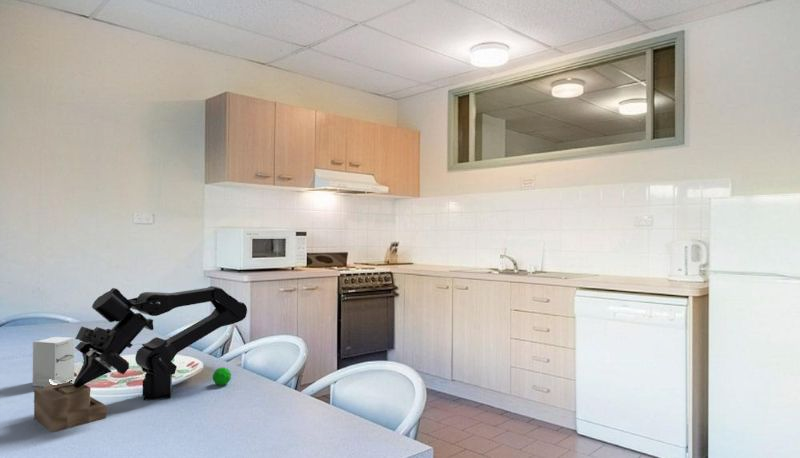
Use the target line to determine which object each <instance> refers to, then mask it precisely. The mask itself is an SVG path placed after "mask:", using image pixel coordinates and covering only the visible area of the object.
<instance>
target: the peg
mask: <svg viewBox="0 0 800 458" xmlns="http://www.w3.org/2000/svg"><path fill="white" fill-rule="evenodd" d="M83 390H86V391H88V392H89V406H90V397H91V387H90V386H88V385H86V384H84V385H82V386H80V387H78V388H76V387H74V386H73V385H72V386H68V387H63V388H59V393H61V394H63V395H65V394H69V393H74V392H78V391H83Z"/></svg>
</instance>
